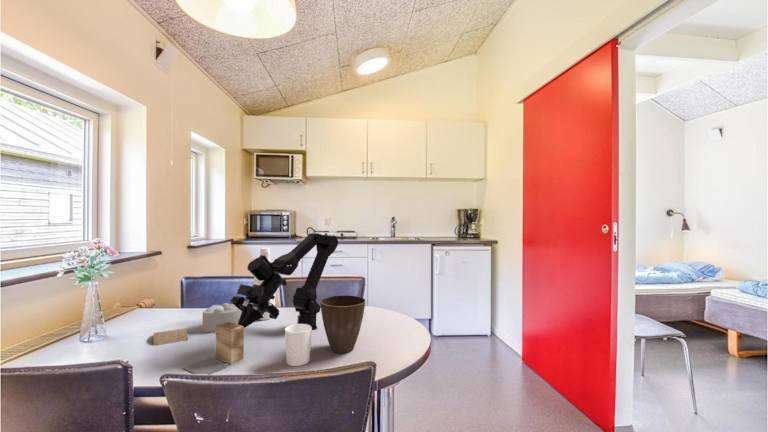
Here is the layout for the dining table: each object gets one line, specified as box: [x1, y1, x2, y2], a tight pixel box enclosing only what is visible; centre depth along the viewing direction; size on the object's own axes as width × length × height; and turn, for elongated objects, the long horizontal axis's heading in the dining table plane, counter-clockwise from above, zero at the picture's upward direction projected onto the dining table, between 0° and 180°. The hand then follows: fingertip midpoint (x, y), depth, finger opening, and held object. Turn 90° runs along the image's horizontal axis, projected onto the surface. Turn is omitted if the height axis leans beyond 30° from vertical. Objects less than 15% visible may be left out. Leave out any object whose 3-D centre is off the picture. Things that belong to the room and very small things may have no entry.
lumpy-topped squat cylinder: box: [201, 302, 241, 333], centre depth 125 cm, size 10×13×9 cm
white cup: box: [284, 323, 313, 367], centre depth 96 cm, size 8×8×10 cm
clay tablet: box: [152, 327, 189, 347], centre depth 114 cm, size 14×10×3 cm
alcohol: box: [253, 247, 276, 321], centre depth 138 cm, size 9×9×30 cm
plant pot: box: [319, 294, 366, 354], centre depth 105 cm, size 15×15×16 cm
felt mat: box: [182, 356, 231, 375], centre depth 91 cm, size 8×10×1 cm
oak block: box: [215, 322, 245, 365], centre depth 97 cm, size 4×8×10 cm, turn 59°
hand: (237, 330), depth 99 cm, fingers closed
